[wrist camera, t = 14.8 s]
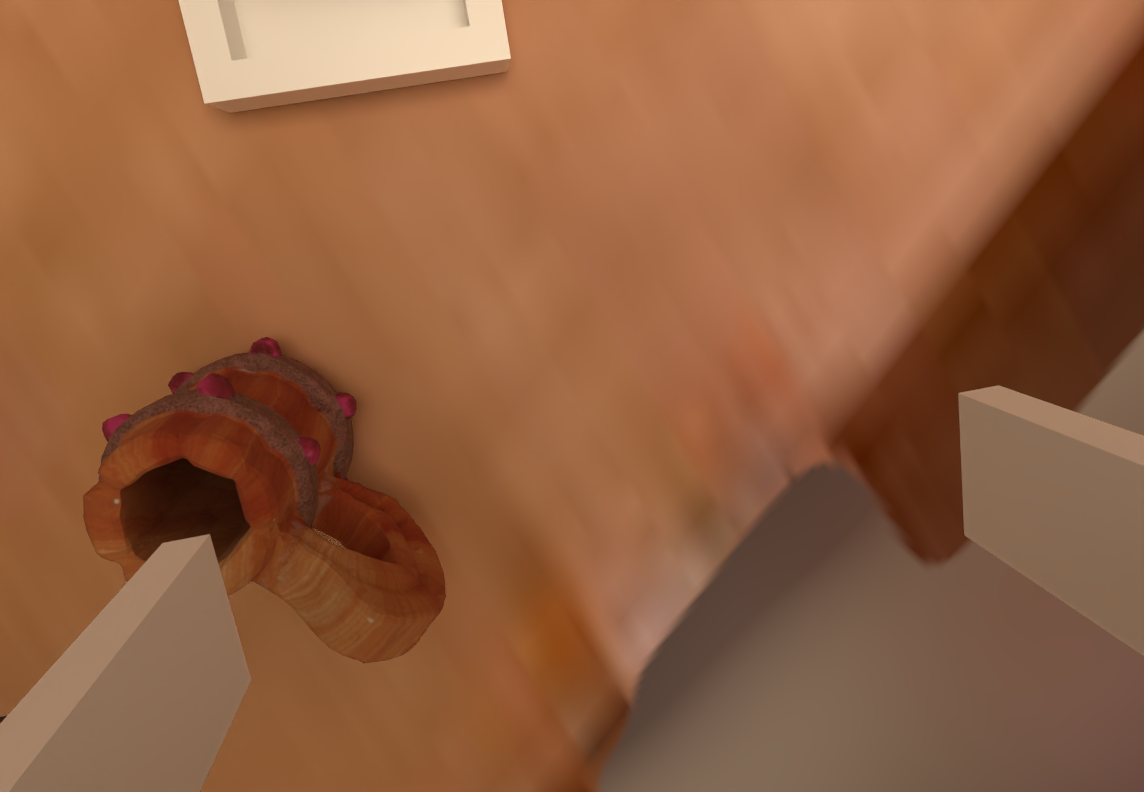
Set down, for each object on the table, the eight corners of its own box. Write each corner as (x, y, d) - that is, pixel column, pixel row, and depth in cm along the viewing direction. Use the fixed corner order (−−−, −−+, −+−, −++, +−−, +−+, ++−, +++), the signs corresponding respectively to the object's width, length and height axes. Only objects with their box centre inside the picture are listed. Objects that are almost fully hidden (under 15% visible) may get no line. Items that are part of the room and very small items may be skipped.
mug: (149, 428, 41) (-26, 552, 27) (241, 297, 40) (111, 351, 26) (395, 581, 45) (359, 765, 30) (485, 463, 44) (492, 594, 29)
